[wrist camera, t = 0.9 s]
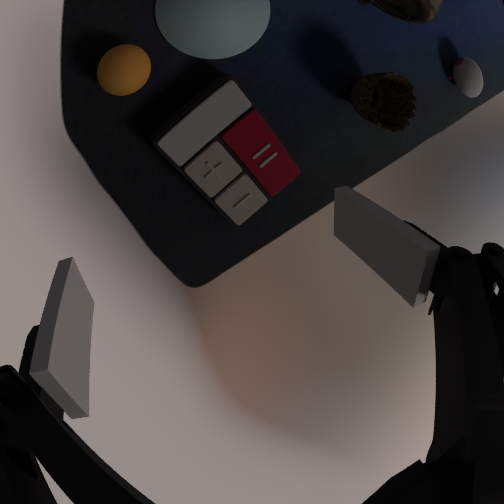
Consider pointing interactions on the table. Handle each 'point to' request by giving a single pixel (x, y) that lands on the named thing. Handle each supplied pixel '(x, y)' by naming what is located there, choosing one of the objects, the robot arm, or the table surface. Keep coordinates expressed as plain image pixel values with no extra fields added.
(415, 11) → the alarm clock
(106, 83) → the ball
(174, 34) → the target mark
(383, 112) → the dark brown rounded lump
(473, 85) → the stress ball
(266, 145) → the calculator
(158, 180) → the table surface
